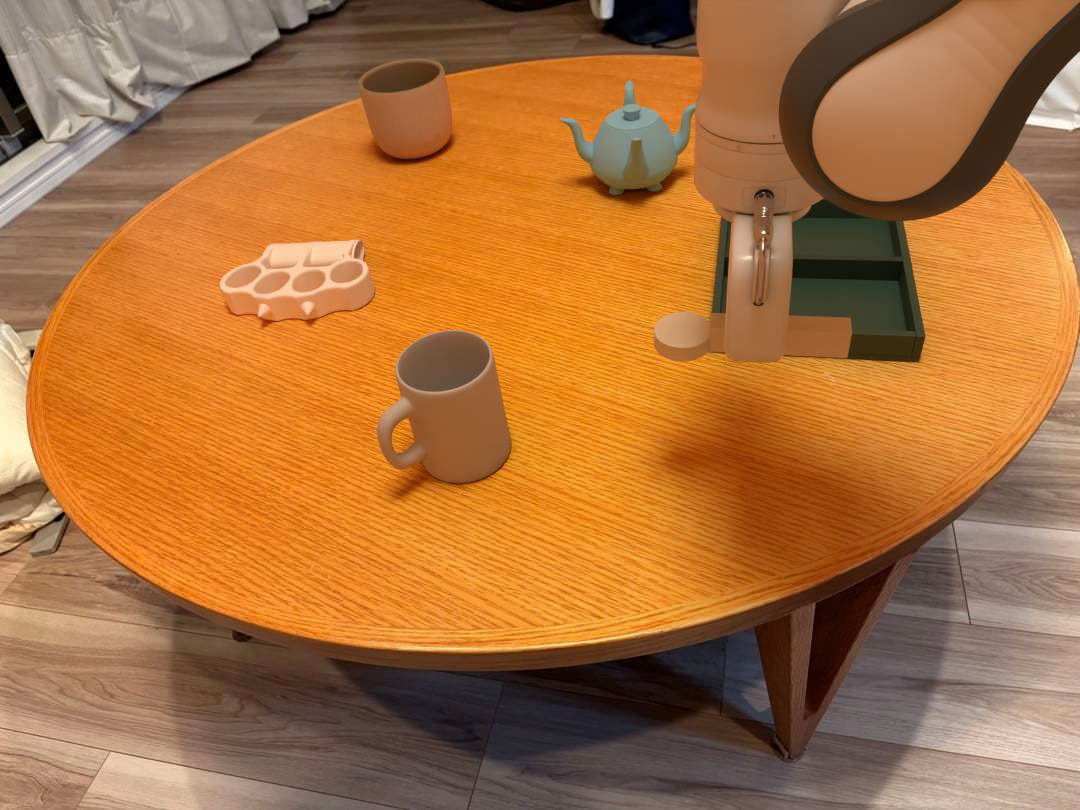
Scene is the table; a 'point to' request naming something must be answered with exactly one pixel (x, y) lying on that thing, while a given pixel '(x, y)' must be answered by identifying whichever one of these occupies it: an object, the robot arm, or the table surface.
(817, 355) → the spoon
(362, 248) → the knuckle duster
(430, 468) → the mug
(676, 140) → the teapot
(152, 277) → the table surface
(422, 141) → the planter
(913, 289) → the tray
